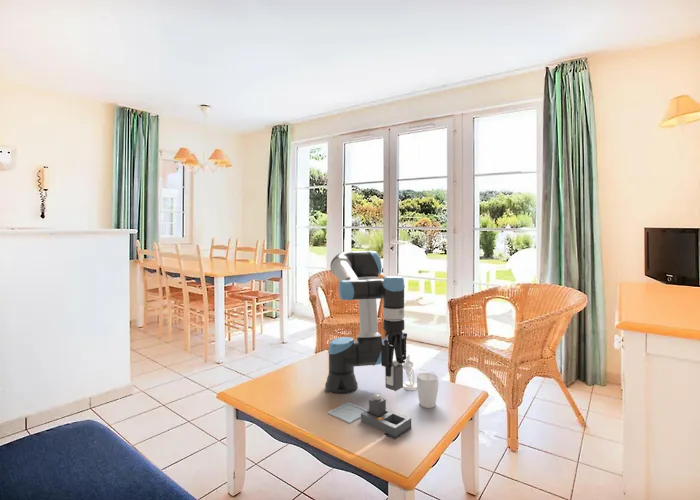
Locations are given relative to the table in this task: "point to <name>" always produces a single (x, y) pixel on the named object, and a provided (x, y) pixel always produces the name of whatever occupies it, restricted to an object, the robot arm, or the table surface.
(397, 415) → the gray block holder
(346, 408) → the tray
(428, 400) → the cup
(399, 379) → the plug
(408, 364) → the figurine
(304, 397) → the table surface
